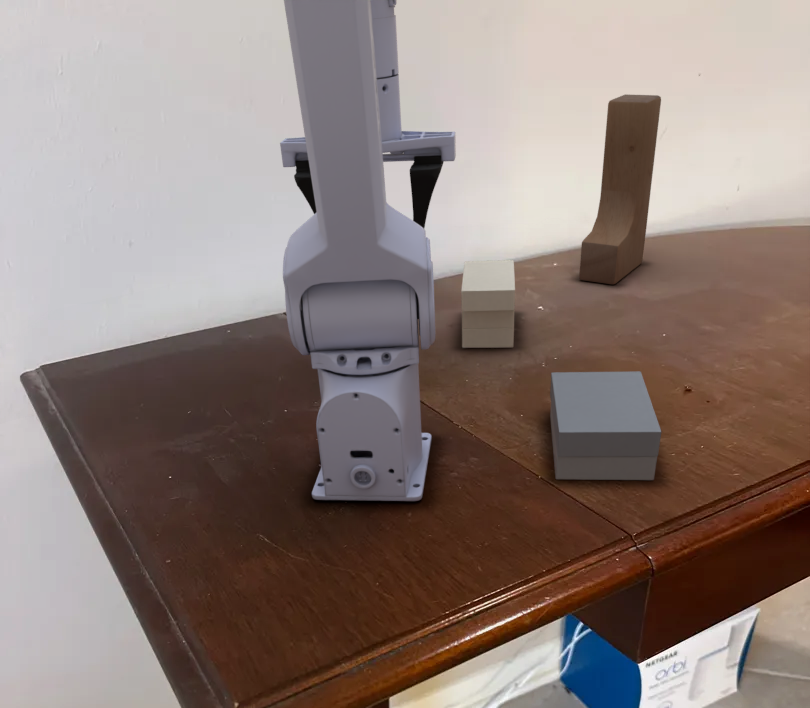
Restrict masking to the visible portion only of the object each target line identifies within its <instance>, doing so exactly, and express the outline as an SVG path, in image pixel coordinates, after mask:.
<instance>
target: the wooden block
mask: <svg viewBox="0 0 810 708" xmlns="http://www.w3.org/2000/svg"><path fill="white" fill-rule="evenodd" d="M661 104H662V96H660V95H656V94H655V95H654V94H622V95H620V96H618V97H615V98H612V99H610V100H609V101H608V103H607V111H606V112H607V113H606V114H607V115H606V124H605V125H606V127H605V136H604V137H605V138H604V150H603V160H602V161H603V162H602V172H601V173H602V174H601V187H600V198H599V203H598V208H597V215H596V218H595V221H594V223H593V226H592V229H591V231H590V232H589V233H588V234H587V235H586V236H585V238H584V239H583V240H582V241H581V245H580V261H579V276H578V277H579V280H580V281H586V282H591V283H600V284H606V285H616V284H617V283H618V282H619V281H621V280H622V279H623V278H624V277H626V276H627V275H629V274H630V273H631V272H632V271H634V270H635V269H636V268H637V267H639V266H640V265H641V264H642V263H643V258H644V251H645V243H646V233H647V227H648V219H649V218H648V217H649V210H650V209H649V208H650V199H651V189H652V182H653V174H654V164H655V155H656V148H657V139H658V130H659V121H660V113H661Z"/></svg>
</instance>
